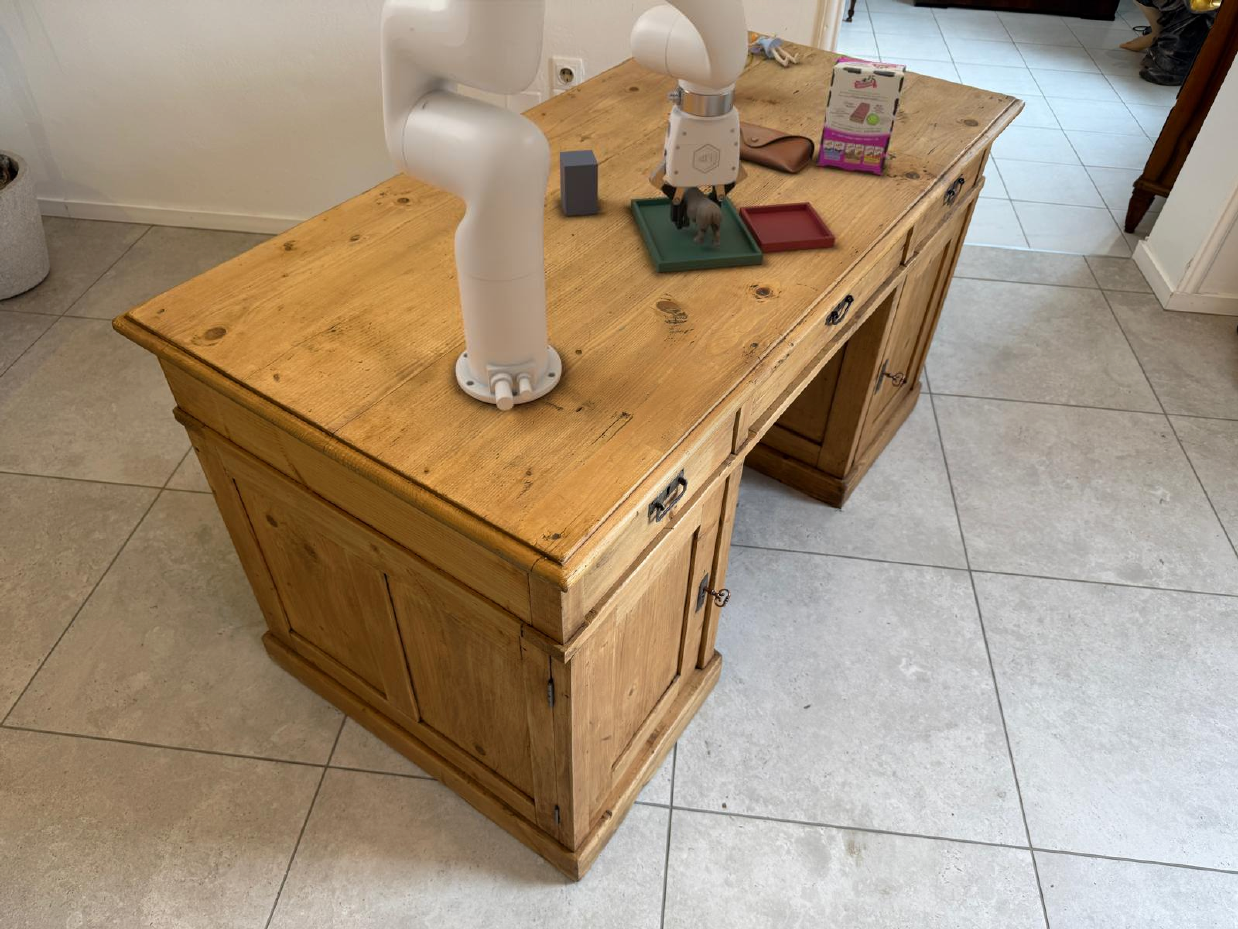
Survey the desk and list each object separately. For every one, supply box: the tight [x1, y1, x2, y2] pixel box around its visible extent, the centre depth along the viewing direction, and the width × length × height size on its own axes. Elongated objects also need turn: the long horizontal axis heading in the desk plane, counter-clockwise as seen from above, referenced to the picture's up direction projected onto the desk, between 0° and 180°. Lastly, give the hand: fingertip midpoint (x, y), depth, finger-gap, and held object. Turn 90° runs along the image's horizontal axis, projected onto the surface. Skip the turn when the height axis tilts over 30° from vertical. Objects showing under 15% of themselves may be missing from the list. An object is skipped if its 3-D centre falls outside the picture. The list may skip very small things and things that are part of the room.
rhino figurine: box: [682, 187, 722, 247], centre depth 128 cm, size 4×14×6 cm, turn 22°
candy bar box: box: [816, 57, 907, 176], centre depth 144 cm, size 11×5×16 cm, turn 73°
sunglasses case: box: [739, 120, 816, 173], centre depth 151 cm, size 18×7×7 cm, turn 60°
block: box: [559, 149, 599, 217], centre depth 134 cm, size 5×5×8 cm
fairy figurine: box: [748, 32, 800, 67], centre depth 186 cm, size 12×5×12 cm
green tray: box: [630, 193, 764, 273], centre depth 130 cm, size 19×15×2 cm
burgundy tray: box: [738, 201, 836, 254], centre depth 132 cm, size 11×11×2 cm
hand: (694, 222), depth 130 cm, fingers closed on rhino figurine, 4 cm apart
